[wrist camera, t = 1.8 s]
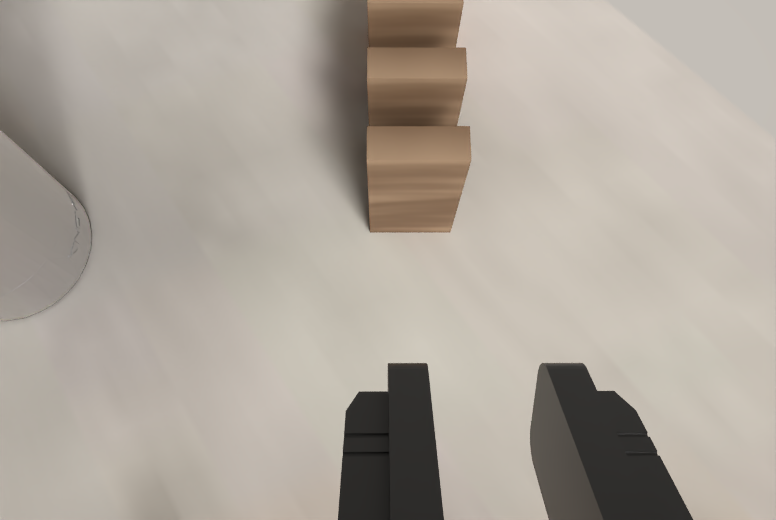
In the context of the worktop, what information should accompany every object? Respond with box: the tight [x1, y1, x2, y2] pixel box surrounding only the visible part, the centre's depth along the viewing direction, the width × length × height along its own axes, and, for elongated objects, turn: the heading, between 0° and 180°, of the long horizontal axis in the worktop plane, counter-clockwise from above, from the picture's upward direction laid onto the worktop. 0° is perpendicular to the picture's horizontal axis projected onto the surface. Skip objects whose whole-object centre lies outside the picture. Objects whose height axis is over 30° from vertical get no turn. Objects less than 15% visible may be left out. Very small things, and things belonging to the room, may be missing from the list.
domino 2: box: [367, 47, 467, 126], centre depth 38 cm, size 2×5×10 cm, turn 90°
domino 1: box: [367, 0, 463, 48], centre depth 39 cm, size 2×5×10 cm, turn 91°
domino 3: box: [367, 126, 471, 232], centre depth 36 cm, size 2×5×10 cm, turn 90°
